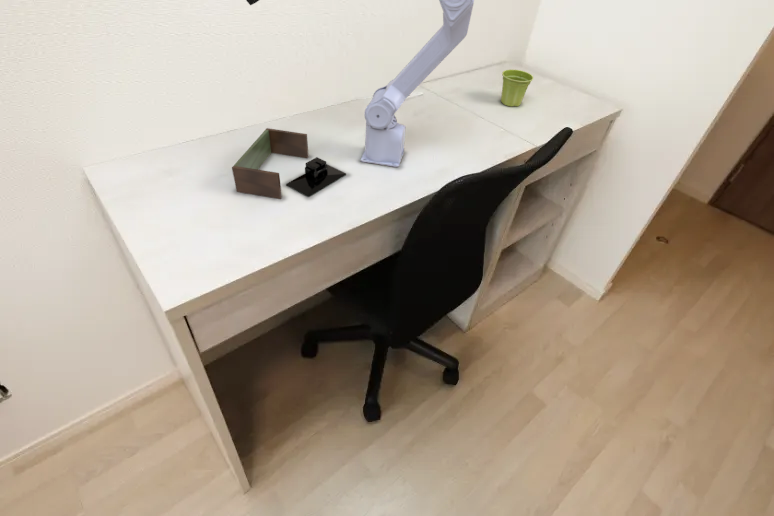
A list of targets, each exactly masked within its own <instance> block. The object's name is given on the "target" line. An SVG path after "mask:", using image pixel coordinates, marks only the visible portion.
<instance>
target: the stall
mask: <svg viewBox="0 0 774 516" xmlns="http://www.w3.org/2000/svg"><path fill="white" fill-rule="evenodd" d="M271 154H276V155H282V156H289V157H296V158H302V159H309V156H310V155H309V141H308V133H301V132H297V131H295V132H294V131H289V130H281V129H276V128H269V127H267V128H265V130H264V131H262V133H261V134H260V135H259V136H258V137H257V139H255V141H253V143H252V144H251V145H250V147H248V149H247V150H246V151H245V152H244V153H243V155H241V156H240V158H239V159H238V160H237V161H236V162H235V164H234V165H232V166H231V171H232V175H233V176H232V177H233V179H234V186H235V191H236V193H241V194H247V195H252V196H253V195H254V196H259V197H265V198H272V199H278V200H281V199H282V198H283V195H282V186H281V185H282V184H281V176H280V172H276V171H269V170H264V169H260V168H261V167H262V165H263V164H264V163H265V162H266V161H267V160H268V158H269V157H270V155H271Z"/></svg>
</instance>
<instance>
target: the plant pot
mask: <svg viewBox="0 0 774 516" xmlns="http://www.w3.org/2000/svg"><path fill="white" fill-rule="evenodd" d="M501 74H502V89H501V97H500V102H501V103H502V105H505V106H508V107H520V106H521V104H522V102H523V99H524V97H525V94H526V92H527V91H528V88H529V86H530V84H531V82H533V80H534V75H532V74H531V73H529V72H527V71H525V70H520V69H505V70H503V71H502V73H501Z"/></svg>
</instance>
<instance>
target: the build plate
mask: <svg viewBox="0 0 774 516" xmlns="http://www.w3.org/2000/svg"><path fill="white" fill-rule="evenodd" d="M346 176H347V173H346V172H345V171H342V170H340V169H338V168H337V167H333V166H332V165H329V164H328V163H327V161H326V160H324V159H322V158H320V157H318V156H316V157H314V158H313V159H310V160H309V161H307V162H305V167H304V174H302V175H300V176H298V177H296V178H294V179H293V180H290V181H289V182H287V183H285V186H286V187H288V188H290V190H291V189H292V190H293V191H296V192H297V193H299V194H301V195H303V196H305V197H307V198H310V197H312V196H315V194H317V193H319V192H320V191H323V190H324V189H325V188H327V187H329V186H330V185H333V184H334V183H335V182H337V181H339V180H341V179H342V178H344V177H346Z"/></svg>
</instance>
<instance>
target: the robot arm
mask: <svg viewBox="0 0 774 516" xmlns="http://www.w3.org/2000/svg"><path fill="white" fill-rule="evenodd" d="M245 1H246V2H247V4H249V6H252V5H254V4H256V3H257V2H259V1H260V0H245ZM438 1H439V4H440V7H441V9H442V25H441V27H440V28H439V29H438V30H437V31H436V32H434V33H435V34H434V35H433V36H432V37H431V38H430V39H429V40H428V41H427V42H426V43H425V44H424V45H423V46H422V48H420V50H419V51H418V52H417V53H416V54H415V55H414V56H413V57H412V59H410V60H409V62H408V63H407V64H406V65H405V66H404V67H403V68H402V69H401V71H399V73H398V74H397V75H396V76H395V77H394V78H392V79H391V80H390V81H389V82H388V83H387V84H386V85H384V86H382V87H379V88H377V89H376V90H375V91H374V93H373V95H372V98H371V99H370V101H369V103H368V105H366V107H365V109H364V119H365V140H364V148H365V149H364V151H363V153H362V155H361V158H360V162H362V163H369V164H375V165H381V166H389V167H394V168H399V167H400V165H401V162H402V159H403V156H404V153H405V141H406V140H405V139H406V125H405V124H402V123H399V122H398V119H397V118H396V115H395V114H396V112H398V110H399V109H400V108H401V106H402V105H403V103H404V102H405V101H406V99H407V98H408V97H409V96H410V95H411V94H412V93H413V92H414V91H415V90H416V89H417V88H418V86H420V85H421V84H422V82H424V81H425V79H427V77H428V76H429V75H430V74H431V73H432V72H433V71H435V70H436V68H437V67H438V66H439V65H440V64H441V63H442V62H443V61H444V60H445V59H446V58H447V57H448V56H449V55H450V54H451V53H452V52H453V50H455V49H456V48H457V46H458V45H459V44H461V42H462V41H463V40H464V39H465V38H466V36H467V35H468V32H469V27H470V22H471V17H472V12H473V7H474V4H475V0H438Z"/></svg>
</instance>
